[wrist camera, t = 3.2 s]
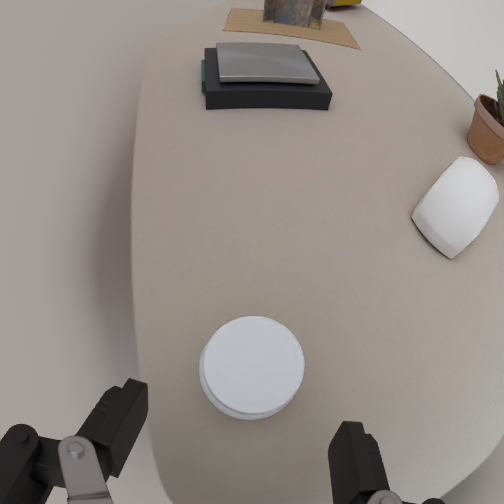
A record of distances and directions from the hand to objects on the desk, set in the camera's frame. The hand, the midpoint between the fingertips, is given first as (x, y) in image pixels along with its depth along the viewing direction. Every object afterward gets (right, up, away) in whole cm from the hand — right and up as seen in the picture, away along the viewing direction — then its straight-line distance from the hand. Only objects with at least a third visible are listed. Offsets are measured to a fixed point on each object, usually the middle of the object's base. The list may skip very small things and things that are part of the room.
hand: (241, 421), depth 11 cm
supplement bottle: (0, -2, +8) cm, 8 cm away
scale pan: (+2, +29, +21) cm, 36 cm away
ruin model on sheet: (+8, +51, +37) cm, 64 cm away
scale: (+2, +28, +24) cm, 37 cm away
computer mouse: (+21, +11, +16) cm, 29 cm away
